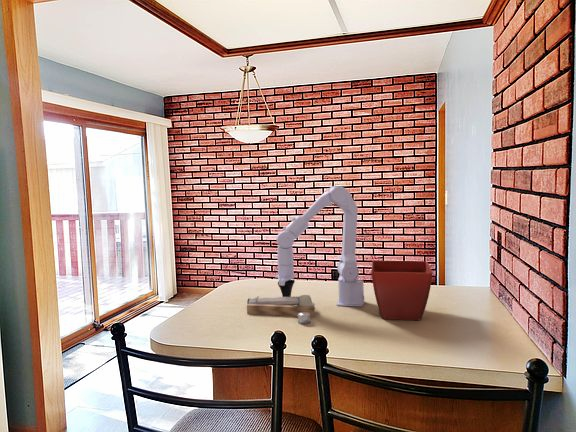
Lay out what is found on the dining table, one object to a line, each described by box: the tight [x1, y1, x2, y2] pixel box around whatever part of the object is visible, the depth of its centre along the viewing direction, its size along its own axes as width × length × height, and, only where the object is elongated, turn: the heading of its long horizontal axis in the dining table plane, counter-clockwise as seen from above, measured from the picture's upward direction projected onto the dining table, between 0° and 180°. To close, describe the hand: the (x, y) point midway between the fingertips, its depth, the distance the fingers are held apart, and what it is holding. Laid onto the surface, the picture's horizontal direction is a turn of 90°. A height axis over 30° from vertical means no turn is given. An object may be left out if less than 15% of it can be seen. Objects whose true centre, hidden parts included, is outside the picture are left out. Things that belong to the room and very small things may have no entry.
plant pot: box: [370, 260, 434, 321], centre depth 155 cm, size 19×19×17 cm
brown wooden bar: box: [246, 304, 316, 317], centre depth 160 cm, size 24×2×3 cm, turn 76°
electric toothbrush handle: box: [246, 294, 316, 306], centre depth 165 cm, size 5×7×25 cm
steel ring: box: [297, 312, 311, 325], centre depth 150 cm, size 4×4×3 cm
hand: (286, 300), depth 169 cm, fingers closed
